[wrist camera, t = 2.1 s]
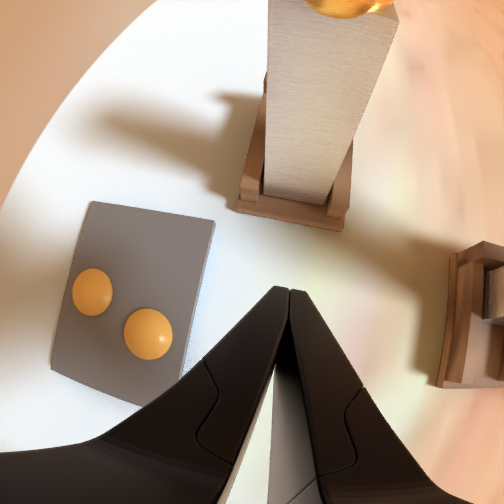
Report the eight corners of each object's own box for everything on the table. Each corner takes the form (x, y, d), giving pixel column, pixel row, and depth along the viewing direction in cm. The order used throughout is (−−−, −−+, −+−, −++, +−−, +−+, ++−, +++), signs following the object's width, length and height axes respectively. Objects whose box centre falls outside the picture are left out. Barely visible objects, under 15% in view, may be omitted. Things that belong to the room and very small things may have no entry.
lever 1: (321, 210, 18) (424, -38, 4) (262, 199, 19) (266, -72, 4) (327, 160, 19) (398, -67, 4) (273, 150, 19) (285, -90, 5)
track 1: (340, 231, 19) (357, 208, 15) (236, 212, 20) (232, 184, 16) (348, 122, 21) (360, 89, 18) (262, 106, 22) (263, 71, 18)
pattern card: (174, 413, 16) (170, 417, 15) (55, 368, 17) (48, 369, 16) (215, 224, 19) (213, 218, 19) (96, 204, 20) (90, 199, 19)
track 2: (499, 386, 16) (532, 389, 12) (436, 387, 16) (468, 393, 13) (509, 271, 18) (540, 259, 14) (449, 256, 18) (480, 240, 15)
